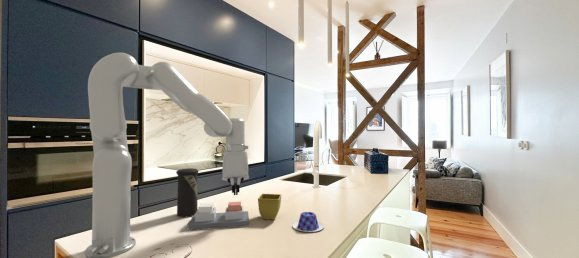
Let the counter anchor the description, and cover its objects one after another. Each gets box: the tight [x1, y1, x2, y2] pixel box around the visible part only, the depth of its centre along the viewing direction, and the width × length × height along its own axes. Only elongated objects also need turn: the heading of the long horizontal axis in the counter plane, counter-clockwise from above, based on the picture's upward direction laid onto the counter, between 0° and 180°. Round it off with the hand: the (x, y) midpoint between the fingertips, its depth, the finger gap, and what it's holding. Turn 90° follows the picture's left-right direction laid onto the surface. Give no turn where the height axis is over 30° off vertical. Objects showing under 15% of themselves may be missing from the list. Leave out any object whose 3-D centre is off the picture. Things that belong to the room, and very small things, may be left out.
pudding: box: [292, 211, 325, 233], centre depth 95 cm, size 12×12×5 cm
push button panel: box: [187, 205, 250, 231], centre depth 99 cm, size 12×22×5 cm, turn 101°
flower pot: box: [257, 193, 282, 220], centre depth 105 cm, size 9×9×9 cm
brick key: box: [227, 201, 242, 212], centre depth 100 cm, size 5×5×3 cm
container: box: [175, 167, 199, 218], centre depth 109 cm, size 9×9×20 cm
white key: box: [198, 202, 214, 213], centre depth 98 cm, size 5×5×3 cm
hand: (235, 194), depth 101 cm, fingers closed
